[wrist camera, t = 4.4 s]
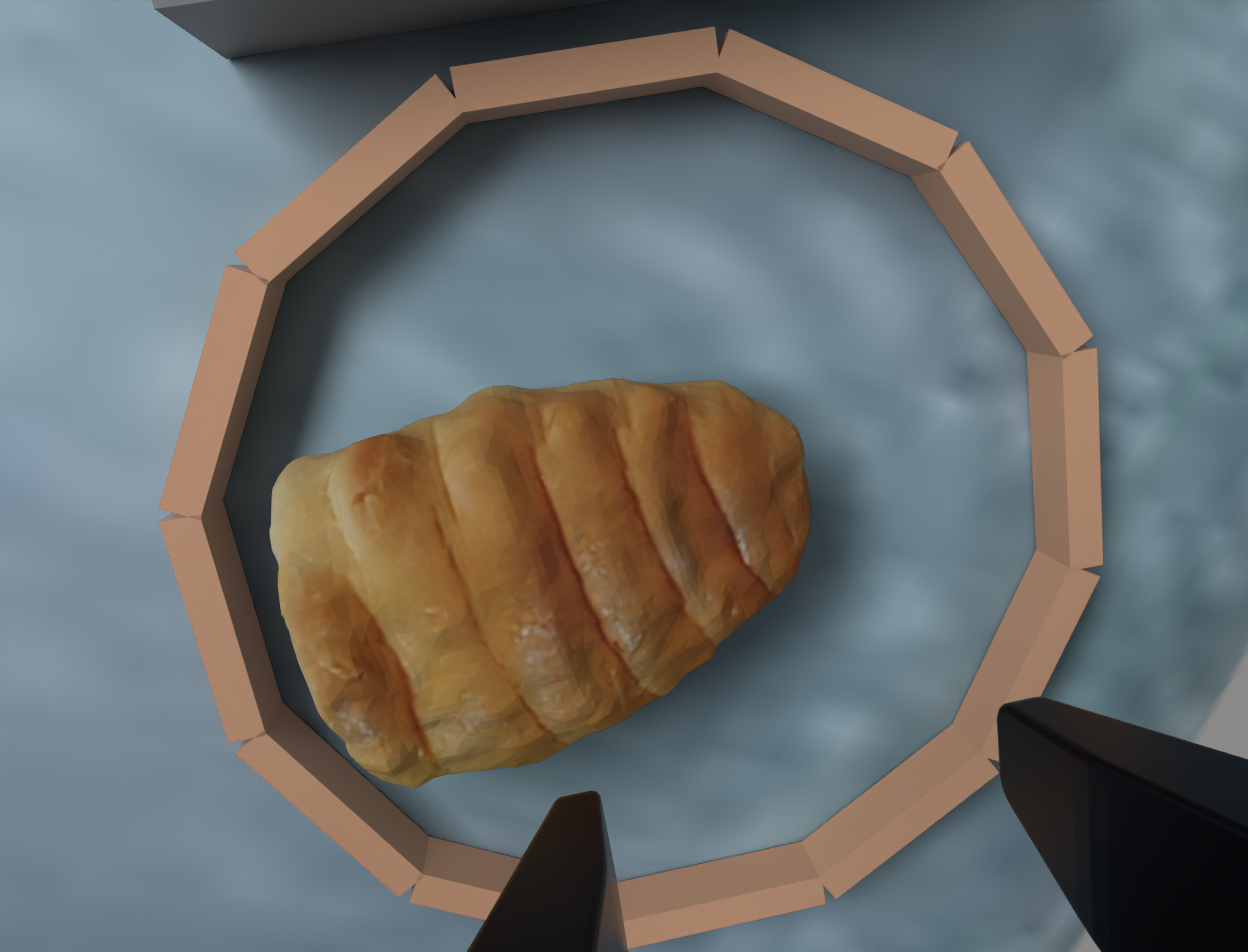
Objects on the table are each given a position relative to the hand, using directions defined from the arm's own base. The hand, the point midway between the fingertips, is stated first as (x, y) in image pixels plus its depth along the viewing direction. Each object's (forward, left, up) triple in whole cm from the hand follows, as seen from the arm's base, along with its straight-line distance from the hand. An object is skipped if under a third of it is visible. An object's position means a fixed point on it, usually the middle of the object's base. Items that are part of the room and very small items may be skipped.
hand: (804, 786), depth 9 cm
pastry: (-2, 0, -10) cm, 10 cm away
